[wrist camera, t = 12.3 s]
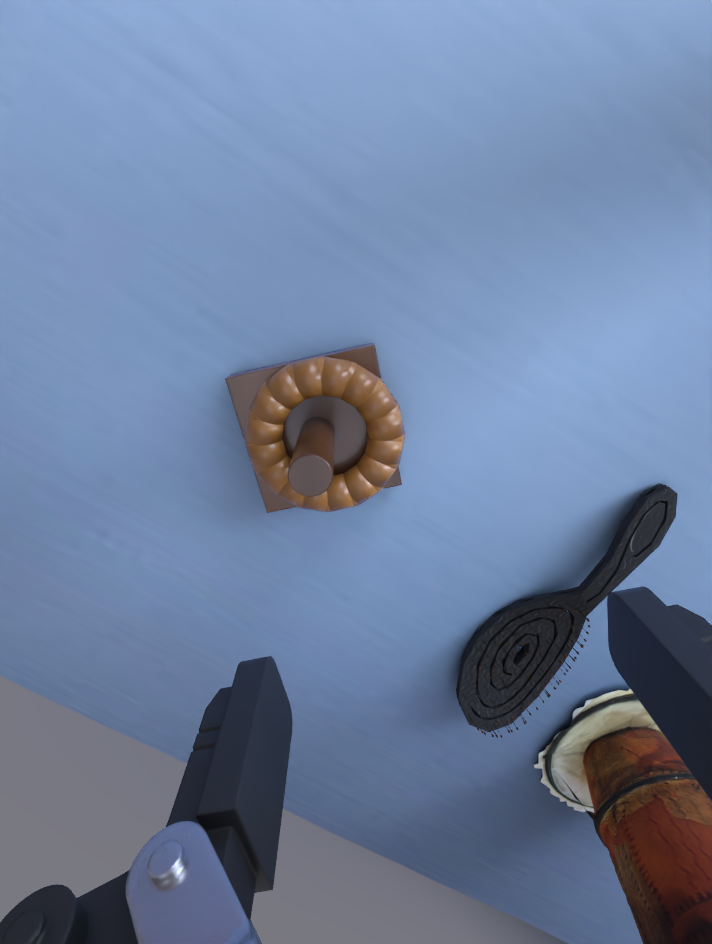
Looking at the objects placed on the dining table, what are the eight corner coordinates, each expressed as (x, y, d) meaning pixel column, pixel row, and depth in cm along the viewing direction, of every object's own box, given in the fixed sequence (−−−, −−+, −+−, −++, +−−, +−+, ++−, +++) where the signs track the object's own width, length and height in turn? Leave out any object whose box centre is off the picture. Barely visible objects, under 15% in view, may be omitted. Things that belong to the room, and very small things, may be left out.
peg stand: (373, 342, 32) (385, 361, 23) (399, 477, 35) (418, 539, 26) (229, 374, 32) (187, 405, 23) (270, 504, 36) (246, 574, 27)
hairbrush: (732, 527, 34) (517, 756, 40) (694, 508, 38) (502, 720, 44) (651, 470, 32) (439, 717, 38) (620, 455, 36) (430, 684, 42)
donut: (384, 338, 30) (388, 342, 28) (413, 484, 34) (418, 498, 32) (228, 375, 31) (220, 382, 28) (274, 515, 34) (269, 531, 32)
